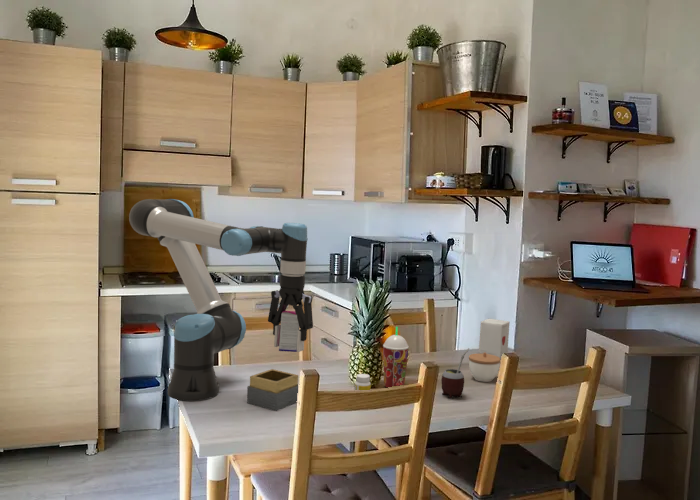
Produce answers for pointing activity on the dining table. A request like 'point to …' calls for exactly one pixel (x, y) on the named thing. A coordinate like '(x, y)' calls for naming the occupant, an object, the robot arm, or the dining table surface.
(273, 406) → the box
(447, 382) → the mate gourd
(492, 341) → the supplement box
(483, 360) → the lidded jar
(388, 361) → the smoothie
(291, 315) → the supplement box
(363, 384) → the supplement bottle
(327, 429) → the dining table surface
